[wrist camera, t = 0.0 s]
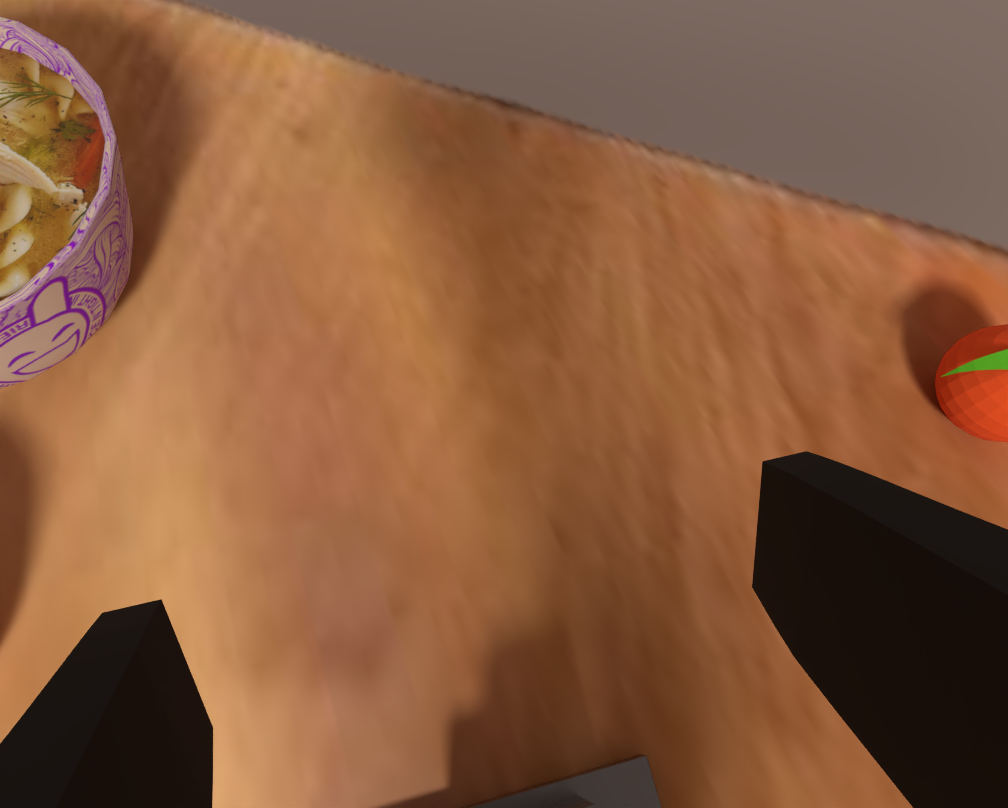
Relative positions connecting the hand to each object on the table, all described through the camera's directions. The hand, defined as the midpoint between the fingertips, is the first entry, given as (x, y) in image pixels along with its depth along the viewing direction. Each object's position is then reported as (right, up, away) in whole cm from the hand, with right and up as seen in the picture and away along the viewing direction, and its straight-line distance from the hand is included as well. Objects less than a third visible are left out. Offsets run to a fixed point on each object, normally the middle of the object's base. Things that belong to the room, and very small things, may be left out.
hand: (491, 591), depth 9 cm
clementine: (+29, +2, +39) cm, 48 cm away
